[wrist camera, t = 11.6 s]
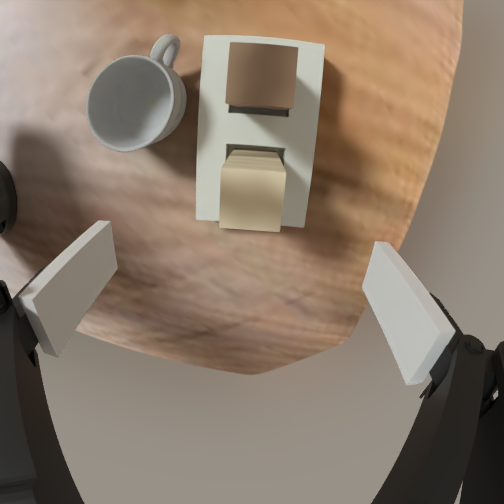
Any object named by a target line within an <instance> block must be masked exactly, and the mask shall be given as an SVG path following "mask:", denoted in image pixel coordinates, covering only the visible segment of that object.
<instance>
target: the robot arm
mask: <svg viewBox="0 0 504 504" xmlns="http://www.w3.org/2000/svg"><path fill="white" fill-rule="evenodd" d="M16 212H17V201H16V193H15V188H14V185H13V182H12V179H11V176H10V174H9V172H8V170H7V169H6V167H5V166H4V165H3V164H2V163H1V162H0V236H1V235H3V234H4V233H6V232H7V231H8V230H10V229H11V227H12V226H13V224H14V222H15V218H16ZM117 269H118V266H117V260H116V254H115V248H114V241H113V234H112V226H111V221H100V220H98V221H97V222H96V223H95V224H94V225H92V226H91V227H90V228H89V229H88V230H86V231H85V232H84V233H83V234H82V235H81V236H80V237H78V238H77V239H76V240H75V241H74V242H73V243H72V244H71V245H69V246H68V247H67V248H66V249H65V250H64V251H63V252H62V253H61V254H60V255H59V256H58V257H56V258H55V259H54V260H53V261H52V262H51V263H50V264H49V265H48V266H46V267H44V268H43V269H41V270H40V271H39V272H38V273H37V274H36V275H35V276H34V278H32V279H31V280H30V281H29V283H27V284H26V285H25V286H24V287H23V288H22V289H21V290H20V291H19V292H18V293H17V294H16V296H15V297H14V298H13V299H12V298H11V296H10V293H9V291H8V288H7V285H6V283H5V282H4V281H3V280H0V504H84V502H83V500H82V498H81V496H80V494H79V492H78V490H77V487H76V485H75V483H74V481H73V479H72V476H71V474H70V471H69V469H68V466H67V464H66V461H65V458H64V456H63V454H62V450H61V447H60V445H59V442H58V439H57V435H56V432H55V429H54V426H53V422H52V419H51V415H50V412H49V408H48V404H47V400H46V395H45V391H44V387H43V382H42V377H41V371H40V365H39V359H38V354H37V352H36V350H35V347H36V345H37V344H38V342H39V344H40V346H41V348H42V350H43V352H44V353H46V354H49V355H52V356H55V357H59V354H60V353H61V351H62V350H63V348H64V347H65V345H66V343H67V342H68V340H69V339H70V337H71V335H72V334H73V332H74V331H75V329H76V328H77V326H78V325H79V323H80V322H81V320H82V319H83V317H84V316H85V314H86V313H87V311H88V310H89V308H90V307H91V305H92V304H93V302H94V301H95V300H96V298H97V297H98V295H99V294H100V292H101V291H102V290H103V288H104V287H105V285H106V284H107V283H108V281H109V280H110V279H111V277H112V276H113V275H114V273H115V272H116V271H117ZM362 289H363V291H364V293H365V295H366V297H367V299H368V301H369V303H370V305H371V307H372V309H373V311H374V313H375V315H376V317H377V320H378V322H379V324H380V326H381V328H382V330H383V332H384V335H385V337H386V339H387V341H388V343H389V346H390V348H391V350H392V352H393V355H394V357H395V359H396V362H397V364H398V366H399V369H400V371H401V374H402V376H403V378H404V381H405V383H406V385H407V386H408V385H414V384H420V383H422V382H423V381H424V379H425V378H426V377H427V375H428V374H429V373H430V375H431V377H432V381H431V382H430V384H429V385H428V386H427V388H426V389H425V390H424V391H423V393H422V394H421V395H420V398H422V397H423V396H424V395H425V396H424V399H423V402H422V404H421V407H420V410H419V412H418V415H417V417H416V419H415V422H414V424H413V426H412V429H411V431H410V433H409V435H408V438H407V440H406V442H405V444H404V446H403V448H402V450H401V452H400V455H399V456H398V458H397V460H396V462H395V464H394V466H393V468H392V470H391V471H390V473H389V475H388V477H387V479H386V481H385V482H384V484H383V486H382V487H381V489H380V490H379V492H378V494H377V495H376V497H375V498H374V500H373V502H372V503H371V504H454V503H455V500H456V498H457V495H458V492H459V489H460V487H461V484H462V481H463V485H462V491H461V498H460V504H504V341H503V342H500V344H499V345H498V346H497V348H496V349H495V351H493V350H487V349H485V347H484V345H483V343H482V342H481V341H480V340H479V339H477V338H476V337H474V336H472V335H463V333H462V331H461V330H460V329H459V327H458V326H457V324H456V323H455V321H454V320H453V318H452V317H451V316H450V315H449V313H448V312H447V310H446V309H444V306H443V305H442V303H441V302H440V300H439V299H437V298H436V297H435V296H434V295H432V294H431V293H429V292H428V291H427V290H426V289H425V287H424V286H423V285H422V283H421V282H420V281H419V279H418V278H417V277H416V276H415V274H414V273H413V272H412V270H411V269H410V268H409V267H408V265H407V264H406V263H405V262H404V261H403V259H402V258H401V257H400V256H399V254H398V253H397V252H396V251H395V250H394V248H393V247H392V246H391V245H390V244H389V243H388V242H380V241H375V244H374V248H373V252H372V255H371V259H370V262H369V265H368V269H367V272H366V275H365V279H364V282H363V285H362ZM497 390H498V397H497V398H496V399H495V400H494V399H493V394H494V393H495V392H496V391H497Z"/></svg>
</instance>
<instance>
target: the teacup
mask: <svg viewBox="0 0 504 504" xmlns="http://www.w3.org/2000/svg"><path fill="white" fill-rule="evenodd" d="M179 47H180V40H179V38H178V37H177V36H175V35H171V34H166V35H164V36H162V37H160V38H159V39H158V40H157V42H156V43H155V45H154V46H153V48H152V51H151V54H150V57H147V56H143V55H128V56H124V57H121V58H118V59H116V60H114V61H113V62H111V63H110V64H108V65H107V66H106V67H105V68H103V70H102V71H101V72H100V73H99V74H98V75H97V76H96V78H95V80H94V81H93V83H92V85H91V87H90V90H89V93H88V96H87V102H86V116H87V121H88V125H89V127H90V129H91V131H92V133H93V135H94V136H95V137H96V139H97V140H98V141H99V142H100V143H101V144H102V145H104V146H105V147H107V148H109V149H111V150H114V151H118V152H131V151H136V150H139V149H142V148H144V147H146V146H148V145H151V144H154V143H156V142H158V141H160V140H162V139H164V138H165V137H167V136H168V135H169V134H171V133H172V132H173V131H174V130H175V129H176V127H177V126H178V125H179V123H180V121H181V120H182V118H183V115H184V113H185V109H186V103H187V95H186V89H185V86H184V84H183V82H182V80H181V78H180V77H179V76H178V74H177V73H176V72H175V71H174V70H172V68H173V64H174V61H175V59H176V56H177V53H178V50H179ZM165 51H166V52H165ZM164 53H165V55H164Z"/></svg>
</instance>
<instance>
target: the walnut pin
mask: <svg viewBox="0 0 504 504" xmlns="http://www.w3.org/2000/svg"><path fill="white" fill-rule="evenodd" d="M297 60H298V47H292V46H283V45H274V44H262V43H244V42H230V48H229V59H228V71H227V84H226V98H225V103H226V104H229V105H232V106H235V107H243V108H258V109H270V110H286V109H293V107H294V96H295V85H296V73H297Z"/></svg>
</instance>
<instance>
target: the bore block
mask: <svg viewBox="0 0 504 504" xmlns="http://www.w3.org/2000/svg"><path fill="white" fill-rule="evenodd" d="M230 42H244V43H262V44H274V45H283V46H292V47H298V60H297V73H296V85H295V96H294V107H293V109H286V110H270V109H258V108H243V107H235V106H232V105H229V104H226V103H225V98H226V84H227V71H228V59H229V48H230ZM324 48H325V45H323V44H317V43H311V42H305V41H298V40H290V39H281V38H271V37H258V36H236V35H206V36H204V45H203V56H202V68H201V81H200V96H199V113H198V135H197V167H196V220H211V221H219V209H220V180H221V167H222V166H223V164H224V163H225V161H226V160H227V158H228V157H229V155H230V154H231V152H232V151H233V149H234V148H245V149H259V150H272V151H277V153H278V156H279V158H280V160H281V162H282V164H283V166H284V168H285V171H286V181H285V191H284V200H283V208H282V217H281V226H291V227H303V228H304V225H305V218H306V212H307V205H308V198H309V191H310V184H311V176H312V169H313V161H314V153H315V145H316V136H317V127H318V118H319V108H320V98H321V87H322V75H323V62H324Z"/></svg>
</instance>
